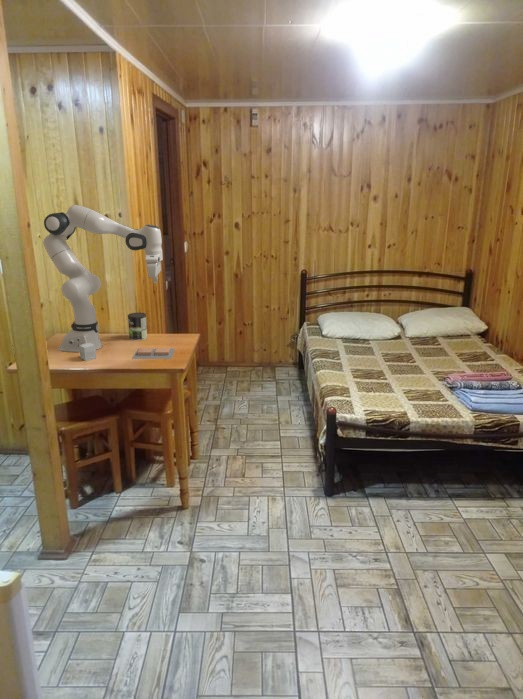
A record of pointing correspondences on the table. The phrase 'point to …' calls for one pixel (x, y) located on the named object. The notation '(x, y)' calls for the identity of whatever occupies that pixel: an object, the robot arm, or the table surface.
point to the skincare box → (87, 351)
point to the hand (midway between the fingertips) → (155, 283)
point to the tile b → (162, 351)
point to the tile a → (145, 351)
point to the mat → (153, 355)
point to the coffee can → (137, 326)
